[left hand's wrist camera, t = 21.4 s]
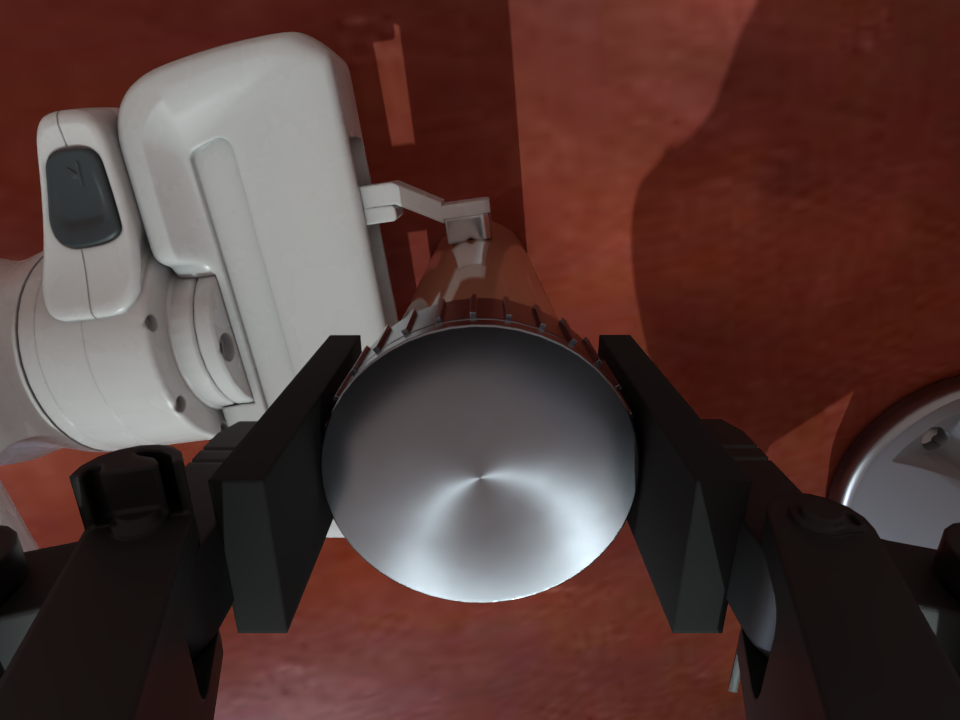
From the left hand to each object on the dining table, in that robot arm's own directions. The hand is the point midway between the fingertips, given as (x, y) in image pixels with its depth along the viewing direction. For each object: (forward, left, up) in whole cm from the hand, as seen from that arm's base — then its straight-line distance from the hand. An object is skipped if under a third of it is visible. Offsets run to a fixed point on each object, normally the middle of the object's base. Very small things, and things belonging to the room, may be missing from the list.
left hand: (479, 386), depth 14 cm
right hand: (-1, 0, -9) cm, 9 cm away
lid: (0, 0, +4) cm, 4 cm away
